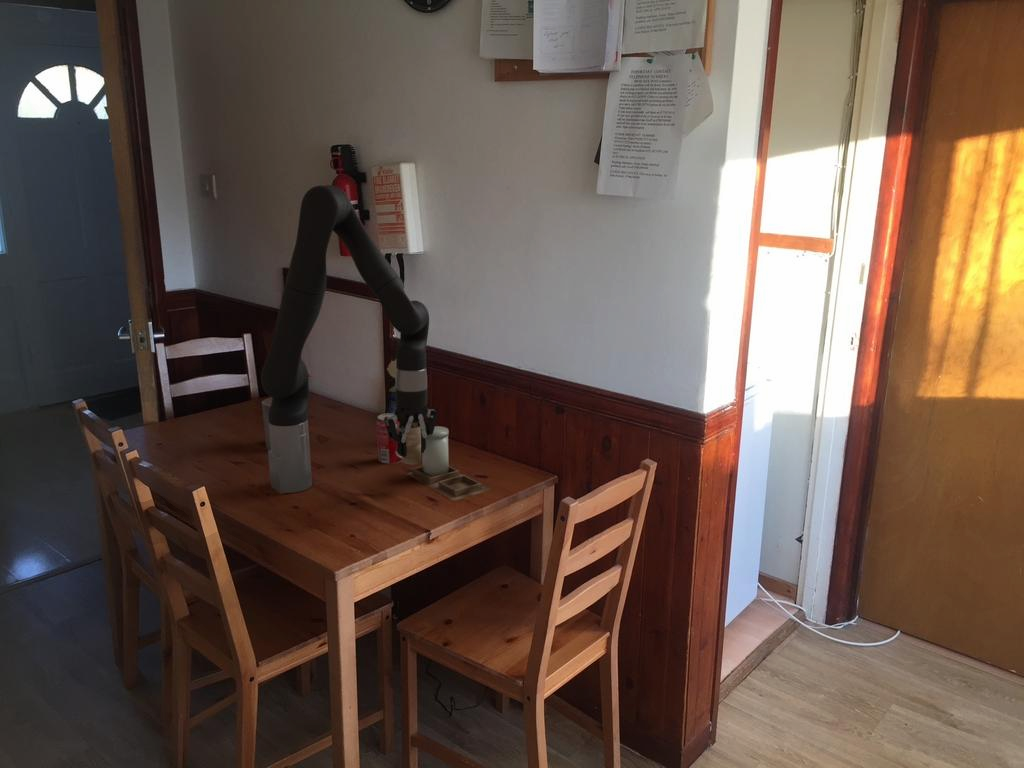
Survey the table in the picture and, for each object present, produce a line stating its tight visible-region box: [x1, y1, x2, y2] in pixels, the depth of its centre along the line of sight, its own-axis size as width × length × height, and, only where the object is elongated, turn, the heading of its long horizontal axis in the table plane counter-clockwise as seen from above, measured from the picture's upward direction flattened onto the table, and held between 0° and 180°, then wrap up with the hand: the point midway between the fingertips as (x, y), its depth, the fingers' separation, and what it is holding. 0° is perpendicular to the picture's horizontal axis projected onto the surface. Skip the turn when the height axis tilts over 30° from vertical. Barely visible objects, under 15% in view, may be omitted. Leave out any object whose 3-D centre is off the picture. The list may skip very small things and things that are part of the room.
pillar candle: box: [260, 396, 272, 451], centre depth 237 cm, size 10×10×15 cm
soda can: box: [375, 412, 403, 465], centre depth 225 cm, size 7×7×13 cm
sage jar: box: [421, 425, 450, 477], centre depth 214 cm, size 7×7×12 cm
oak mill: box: [402, 422, 422, 465], centre depth 203 cm, size 4×4×10 cm
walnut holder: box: [406, 465, 492, 502], centre depth 211 cm, size 11×22×2 cm, turn 37°
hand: (411, 453), depth 204 cm, fingers closed on oak mill, 4 cm apart
